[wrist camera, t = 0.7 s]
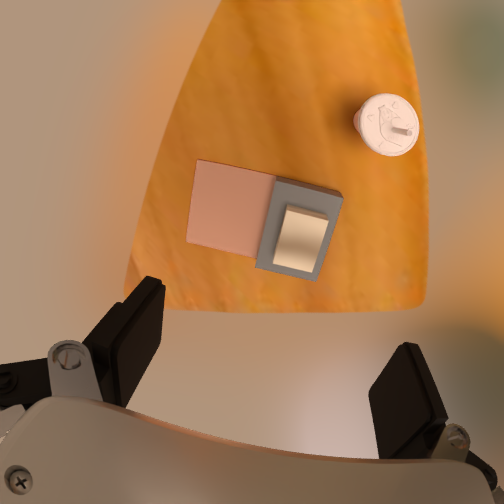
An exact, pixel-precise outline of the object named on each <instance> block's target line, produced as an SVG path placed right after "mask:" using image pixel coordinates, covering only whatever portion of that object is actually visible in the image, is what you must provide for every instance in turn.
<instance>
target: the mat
mask: <svg viewBox="0 0 504 504" xmlns="http://www.w3.org/2000/svg"><path fill="white" fill-rule="evenodd" d="M276 177H277V176H275V175H271V174H267V173H262V172H258V171H253V170H249V169H244V168H240V167H235V166H230V165H225V164H220V163H215V162H210V161H205V160H200V159H198V160H197V164H196V171H195V177H194V184H193V191H192V198H191V205H190V212H189V220H188V228H187V236H186V242H190V243H194V244H198V245H202V246H206V247H211V248H215V249H219V250H223V251H227V252H231V253H235V254H240V255H244V256H248V257H252V258H256V259H257V257H258V252H259V248H260V244H261V240H262V236H263V231H264V227H265V223H266V219H267V215H268V211H269V206H270V202H271V198H272V194H273V189H274V185H275V181H276Z"/></svg>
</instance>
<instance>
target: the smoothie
mask: <svg viewBox="0 0 504 504" xmlns="http://www.w3.org/2000/svg"><path fill="white" fill-rule="evenodd" d="M353 123H354V127H355V129H356V130H357V131H358V132H359V133H360V135H361V137H362V139H363V141H364V142H365V143H366V145H367V146H368V147H370V148H371V149H372V150H373V151H375V152H377V153H379V154H382V155H386V156H398V155H401V154H404V153H406V152H407V151H409V150H410V149H411V148H412V147H413V145H414V144H415V142H416V140H417V138H418V134H419V121H418V117H417V115H416V112H415V110H414V109H413V107H412V106H411V105H410V104H409V103H408V102H407V101H406V100H405V99H403V98H401V97H400V96H397V95H394V94H388V93H386V94H377V95H374V96H372V97H371V98H369V99H368V100H366V102H365V103H364V104H363V105H362V107H361V109H360V110H358V111H357V112H356V113H355V115H354V119H353Z"/></svg>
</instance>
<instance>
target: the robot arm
mask: <svg viewBox="0 0 504 504" xmlns="http://www.w3.org/2000/svg"><path fill="white" fill-rule="evenodd" d="M165 290H166V286H165V285H163V284H162V281H161V280H160V279H157V278H154V277H150V276H146V277H145V278H144V279H143V280H142V281H141V282H140V284H139V285H138V286H137V287H136V288H135V289H134V290H133V292H132V293H131V294H130V295H129V296H128V297H127V299H126V300H125V301H124V302H123V303H121V302H117V303H116V304H114V306H113V307H112V308H111V309H110V310H109V311H108V312H107V314H106V315H105V316H104V317H103V318H102V319H101V320H100V322H99V323H98V324H97V325H96V326H95V328H94V329H93V330H92V331H91V332H90V334H89V335H88V336H87V337H86V338H85V339H84V341H83V342H82V343H80V342H78V341H74V340H65V341H60V342H58V343H56V344H54V345H53V346H52V347H51V348H50V350H49V352H48V357H47V358H42V359H36V360H29V361H23V362H15V363H8V364H1V365H0V438H1V437H3V436H5V435H6V436H5V438H4V439H3V441H2V442H1V444H0V504H504V491H503V490H502V488H501V487H500V486H498V487H496V486H497V475H496V472H495V470H494V469H493V468H492V467H490V466H489V465H488V464H486V463H485V462H484V461H483V460H482V459H480V458H479V457H478V456H476V455H475V454H474V453H472V452H471V451H470V450H469V448H470V443H471V441H470V437H469V434H468V433H467V431H466V430H465V429H464V428H463V427H462V426H460V425H458V424H454V423H452V424H448V425H447V426H446V424H445V422H446V421H447V420H448V416H447V413H446V410H445V407H444V405H443V402H442V400H441V397H440V394H439V392H438V390H437V387H436V385H435V382H434V380H433V377H432V375H431V372H430V370H429V368H428V365H427V363H426V361H425V359H424V357H423V354H422V352H421V350H420V348H419V346H418V344H414V343H409V342H404V343H403V344H402V345H399V346H398V348H397V349H396V351H395V353H394V354H393V356H392V357H391V359H390V360H389V362H388V363H387V365H386V366H385V368H384V369H383V371H382V372H381V374H380V375H379V377H378V378H377V379H376V381H375V382H374V384H373V385H372V386H371V388H370V390H369V402H370V407H371V412H372V417H373V423H374V429H375V435H376V441H377V448H378V454H379V459H361V458H344V457H332V456H321V455H312V454H304V453H297V452H289V451H283V450H277V449H271V448H266V447H261V446H255V445H250V444H245V443H241V442H236V441H232V440H228V439H223V438H219V437H215V436H212V435H208V434H204V433H201V432H197V431H194V430H190V429H187V428H184V427H180V426H177V425H173V424H170V423H167V422H164V421H160V420H158V419H155V418H152V417H149V416H146V415H143V414H141V413H137V412H134V411H131V410H128V409H126V406H127V404H128V402H129V400H130V398H131V396H132V395H133V393H134V391H135V389H136V387H137V385H138V384H139V382H140V380H141V378H142V376H143V374H144V373H145V371H146V369H147V367H148V365H149V363H150V362H151V360H152V357H153V356H154V354H155V353H156V351H157V349H158V347H159V344H160V342H161V333H162V321H163V310H164V299H165ZM9 430H10V431H9ZM7 431H9V432H8V433H6V432H7ZM31 475H32V476H31Z"/></svg>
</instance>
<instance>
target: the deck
mask: <svg viewBox="0 0 504 504" xmlns="http://www.w3.org/2000/svg"><path fill="white" fill-rule="evenodd" d="M343 199H344V198H343V196H342V195H341V193H340V192H337V191H334V190H330V189H326V188H323V187H319V186H315V185H311V184H307V183H304V182H300V181H296V180H292V179H288V178H284V177H279V176H277V177H276V181H275V185H274V189H273V194H272V198H271V202H270V206H269V211H268V215H267V219H266V223H265V227H264V231H263V236H262V240H261V244H260V248H259V252H258V257H257V261H256V265H255V268H260V269H264V270H268V271H272V272H276V273H281V274H285V275H289V276H293V277H298V278H302V279H306V280H311V281H315V282H316V281H317V278H318V275H319V272H320V269H321V266H322V264H323V261H324V258H325V255H326V252H327V249H328V246H329V243H330V240H331V237H332V234H333V231H334V228H335V225H336V222H337V218H338V215H339V212H340V209H341V206H342V202H343ZM287 204H289V205H293V206H297V207H301V208H305V209H309V210H312V211H316V212H320V213H324V214H327V217H328V220H329V222H328V225H327V228H326V231H325V234H324V238H323V241H322V244H321V247H320V250H319V253H318V256H317V259H316V262H315V265H314V268H313V271H312V273H311V272H307V271H303V270H298V269H294V268H290V267H286V266H281V265H277V264H273V258H274V252H275V249H276V245H277V241H278V237H279V233H280V230H281V226H282V222H283V218H284V214H285V210H286V206H287Z"/></svg>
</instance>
